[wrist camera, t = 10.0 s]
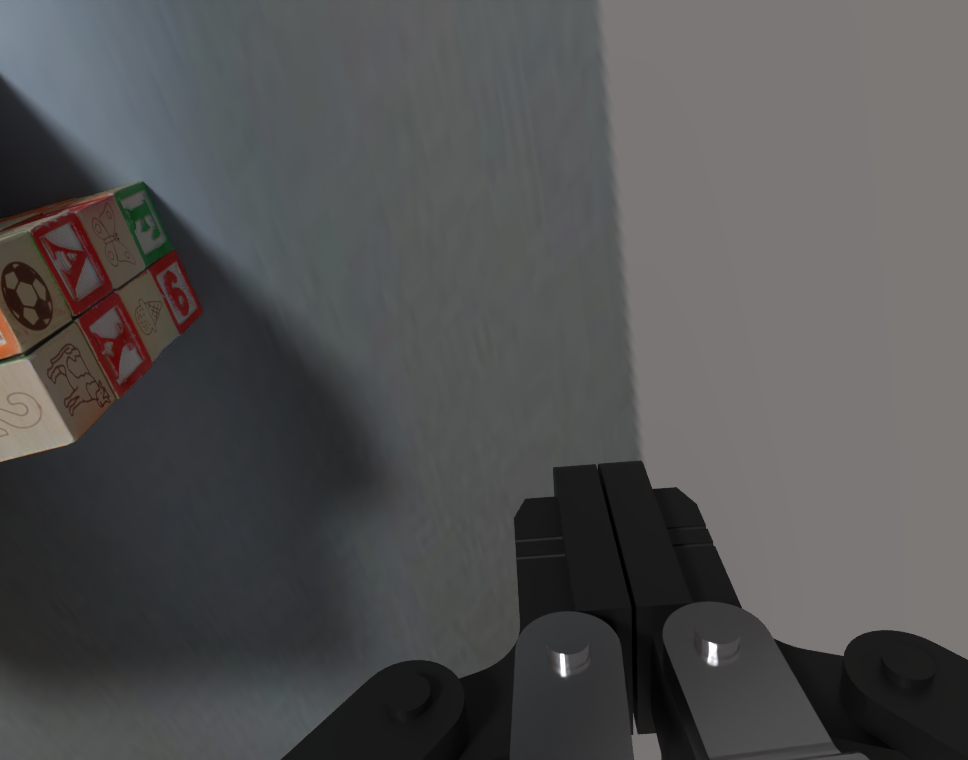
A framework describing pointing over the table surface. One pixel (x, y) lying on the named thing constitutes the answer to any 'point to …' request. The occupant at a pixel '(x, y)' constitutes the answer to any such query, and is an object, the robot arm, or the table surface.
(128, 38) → the table surface
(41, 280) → the stack of blocks
